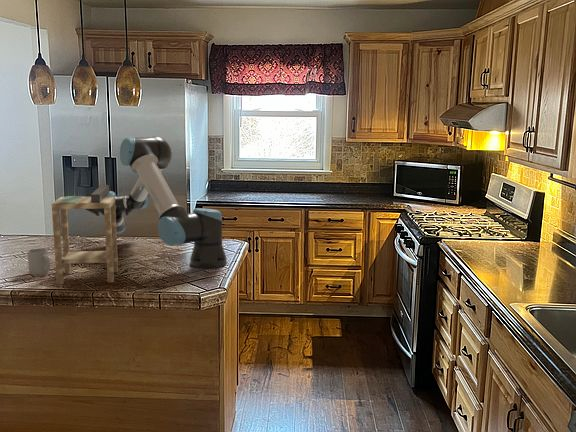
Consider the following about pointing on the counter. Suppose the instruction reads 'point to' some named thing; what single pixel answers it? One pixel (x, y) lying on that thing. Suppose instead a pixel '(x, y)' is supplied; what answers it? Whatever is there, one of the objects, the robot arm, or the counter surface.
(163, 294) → the counter surface
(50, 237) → the counter surface
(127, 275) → the counter surface
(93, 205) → the stand
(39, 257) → the cup
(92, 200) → the grey square bar
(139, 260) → the counter surface
